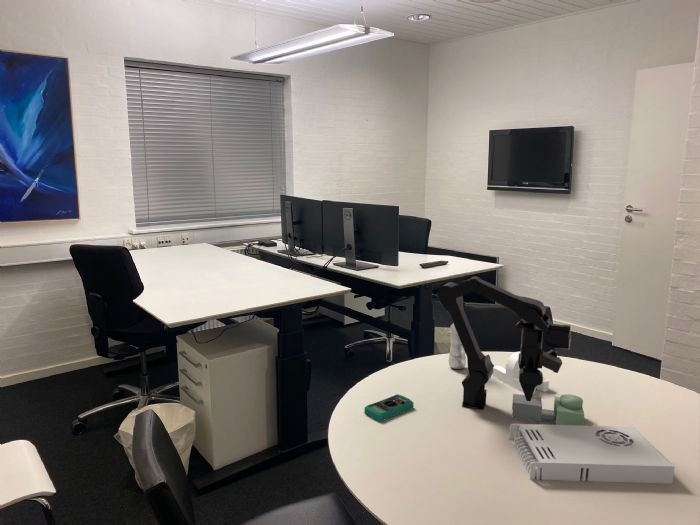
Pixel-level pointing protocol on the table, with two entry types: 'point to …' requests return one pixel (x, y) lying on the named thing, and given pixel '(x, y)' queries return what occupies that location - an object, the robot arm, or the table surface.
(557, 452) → the power supply unit
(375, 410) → the digital multimeter
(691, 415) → the table surface
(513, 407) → the chute
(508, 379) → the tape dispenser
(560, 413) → the green domed block
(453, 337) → the plastic bottle
